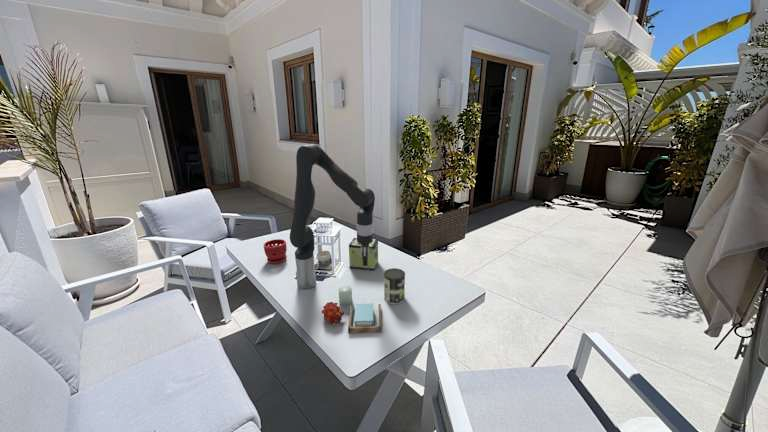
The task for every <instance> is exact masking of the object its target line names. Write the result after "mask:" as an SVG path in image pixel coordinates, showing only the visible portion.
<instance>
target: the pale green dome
mask: <svg viewBox="0 0 768 432" xmlns="http://www.w3.org/2000/svg"><path fill="white" fill-rule="evenodd" d="M352 289H353V288H352V287H351V286H349V285H343V286H340V287H338V290H337V292H338V304H339V305H341V306H343V307H344V306H345V307H347V306H351V305H352V303H353V290H352Z"/></svg>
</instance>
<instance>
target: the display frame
mask: <svg viewBox="0 0 768 432" xmlns="http://www.w3.org/2000/svg"><path fill="white" fill-rule="evenodd" d="M377 306H378V307H377V309H378V325H374V326H357V327H355V326H352V323H353V316H354V315H353V313H354V304H350V309H349V316H348V324H347V333H348V334H366V333H368V334H369V333H372V334H373V333H382V310H381V309H382V306H381V303H378V305H377Z"/></svg>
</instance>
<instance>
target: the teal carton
mask: <svg viewBox="0 0 768 432" xmlns="http://www.w3.org/2000/svg"><path fill="white" fill-rule="evenodd" d="M354 311H355V312H354V327H357V326H375V325H374V324H375V322H374V303H373V302H372V303H371V302H369V303H367V302H366V303H355V310H354Z"/></svg>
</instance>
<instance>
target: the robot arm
mask: <svg viewBox="0 0 768 432" xmlns="http://www.w3.org/2000/svg"><path fill="white" fill-rule="evenodd" d="M295 159H296V179H295V180H296V181H295V190H294V201H293V202H294V206H293V216H292V222H291V226H290V231H289V232H290V233H289V242H290V243H291V245H292V246H293V247H294V248H296V250H295V251H294V257H295V258H294V259H295V266H296V270H295V277H296V285H297V289H302V290H311V289H312V288H314V287H315V286H316V285H317V276H316V270H315V269H316V267H315V257H314V251H315V236H314V231H313V229H312V228H311V226H309V225H307V222H308V220H309V218H310V216H311V213H312V212H313V209H314V207H315V199H316V189H315V186H314V184H313V181H312V172H313V166H314V165H317V166H318V167H320V168H321V169H323V170H324V171H325V172H326V173H327V175H328V176H329V177H330V180H331V182H333V184H334V185H336V186H337V187H338V189H340V190H341V191H342V192H344V193H346V195H347V196H348V198H349V199H350V200H351V201H352V202H353V203H354V204H355V205H356V206H357V207H359V210H358V211H357V212H356V214H357V215H356V238H357V242H358V243H360V244H361V255H362V260H363V266H367V264H368V261H367V260H368V255H369V244H370V243H372V242H373V239H374V225H373V224H374V223H373V212H374V207H375V202H376V197H375V193H374V191H373V190H372V189H371V188H364V189H362V190H361V189H360V188H359V186H358V181H357V180H355V178H354V177H352V176H351V175H349V174H348V173H347V172H345V170H343V169H342V168H341V167H339V165H338V164H336V162H334V160H333V159H332V158H331V157H330V156H329V155H328V154H327V152H326V151H324V149H323V148H322V147H320V146H319V145H318V144H315V143H310V144H309V143H308V144H303V145H301V146H300V147H298V149H297V150H296V158H295Z"/></svg>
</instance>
